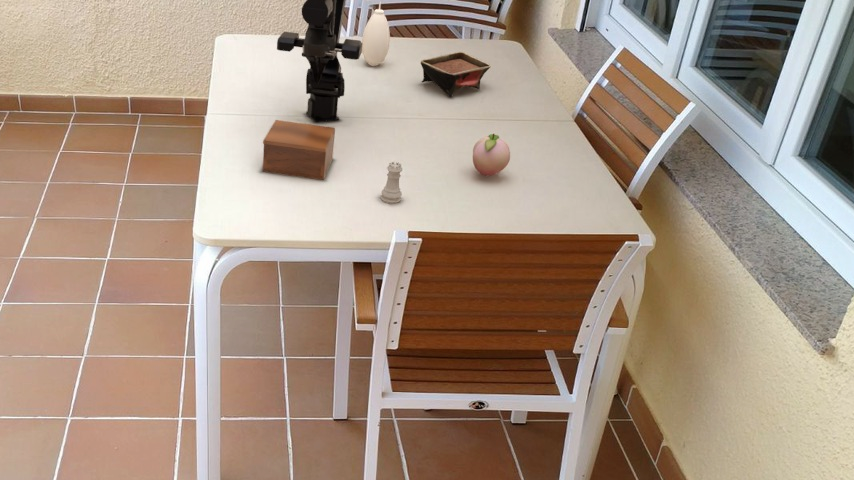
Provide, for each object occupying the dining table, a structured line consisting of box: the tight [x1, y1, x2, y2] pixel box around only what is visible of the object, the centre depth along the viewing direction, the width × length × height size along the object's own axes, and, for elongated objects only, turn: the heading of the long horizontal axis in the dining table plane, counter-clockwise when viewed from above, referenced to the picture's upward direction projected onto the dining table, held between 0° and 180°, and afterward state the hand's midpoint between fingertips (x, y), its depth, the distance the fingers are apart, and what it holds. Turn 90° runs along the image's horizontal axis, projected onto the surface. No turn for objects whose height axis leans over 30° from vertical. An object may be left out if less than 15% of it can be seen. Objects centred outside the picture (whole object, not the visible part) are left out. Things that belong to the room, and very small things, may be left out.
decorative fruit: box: [472, 133, 511, 177], centre depth 214 cm, size 9×8×10 cm
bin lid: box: [262, 119, 336, 152], centre depth 211 cm, size 12×14×1 cm
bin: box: [262, 131, 336, 181], centre depth 214 cm, size 12×14×7 cm
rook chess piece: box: [380, 161, 403, 205], centre depth 202 cm, size 4×4×8 cm
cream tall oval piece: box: [361, 0, 391, 67], centre depth 272 cm, size 8×8×18 cm
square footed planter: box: [420, 51, 492, 98], centre depth 263 cm, size 14×18×10 cm
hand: (317, 82), depth 223 cm, fingers closed
